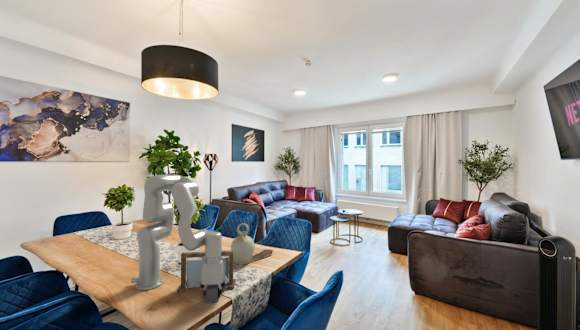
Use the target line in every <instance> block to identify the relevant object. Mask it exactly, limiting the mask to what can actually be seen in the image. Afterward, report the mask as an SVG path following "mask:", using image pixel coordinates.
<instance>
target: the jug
mask: <svg viewBox="0 0 580 330" xmlns="http://www.w3.org/2000/svg"><path fill="white" fill-rule="evenodd" d="M242 226H244V227H245V228H246V231H245V230H241V231H240V227H242ZM236 227H237V228H236V232H237V233H238V236H237V237H236V236H235V238H234V239H233V240H232V241H231V245H230V251H232V250H233V264H234V263H235V264H237V265H246V264H250V263H251V261H252V258H253V256H254V254H255V242H254V239H253V238H252V237H251V236H249V235H247V234H248V233H249V229H250V228H249V226H248V224H247V223H244V222H242V223H240V224H238V226H236Z"/></svg>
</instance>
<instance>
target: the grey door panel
mask: <svg viewBox="0 0 580 330" xmlns="http://www.w3.org/2000/svg"><path fill="white" fill-rule="evenodd" d="M221 260H223V264H224V274H225V275H226V276H227V278H228V279H229V256H221ZM204 261H205V260H202V258H196V259H195V258H194V259H192V258H191V259H186V282H187V286H186V289H188V288H189V289H190V288H200V287H201V286H200V285H198V284H197V281H198V280H199V279H200V277H201V274H202V266H203V262H204ZM224 281H225V280H224ZM224 281H223V282H224ZM225 285H229V282H227V283H226V284H225ZM201 288H202V287H201Z"/></svg>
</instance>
